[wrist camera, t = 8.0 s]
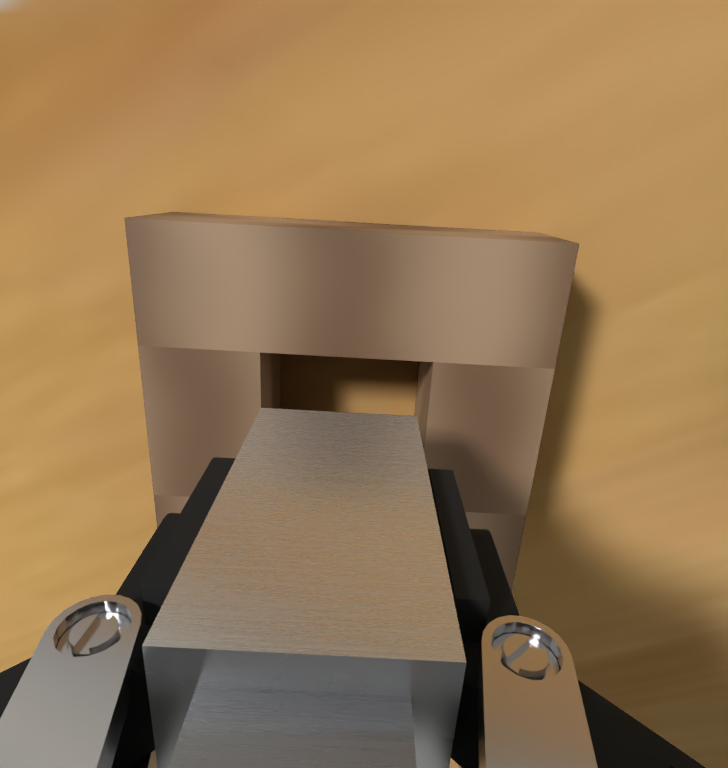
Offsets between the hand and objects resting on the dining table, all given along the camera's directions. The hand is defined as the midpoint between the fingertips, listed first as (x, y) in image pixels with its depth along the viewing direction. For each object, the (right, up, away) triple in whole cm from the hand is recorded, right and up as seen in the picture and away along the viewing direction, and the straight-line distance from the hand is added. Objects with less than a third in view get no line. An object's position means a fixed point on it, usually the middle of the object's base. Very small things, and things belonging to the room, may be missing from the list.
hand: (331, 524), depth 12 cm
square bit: (0, +1, +2) cm, 2 cm away
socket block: (0, +3, +7) cm, 8 cm away
